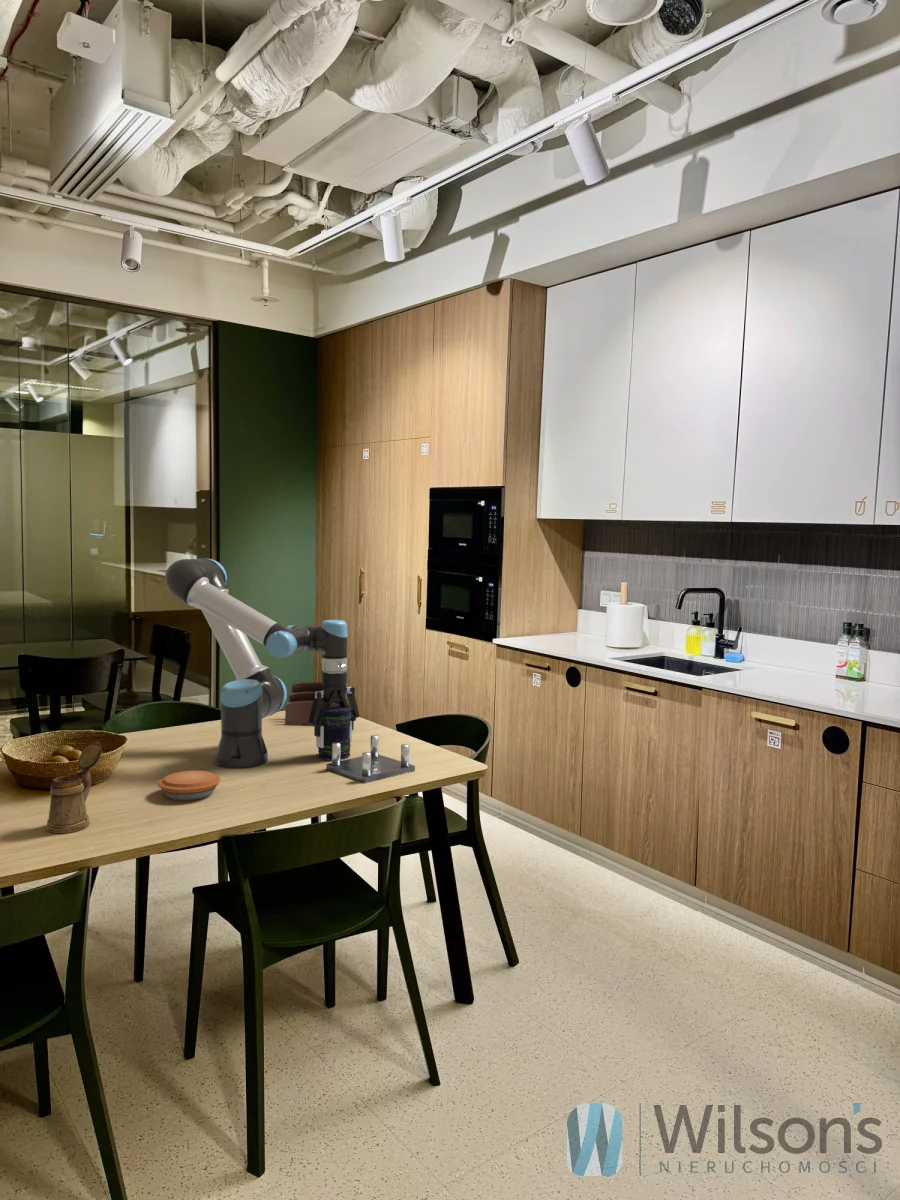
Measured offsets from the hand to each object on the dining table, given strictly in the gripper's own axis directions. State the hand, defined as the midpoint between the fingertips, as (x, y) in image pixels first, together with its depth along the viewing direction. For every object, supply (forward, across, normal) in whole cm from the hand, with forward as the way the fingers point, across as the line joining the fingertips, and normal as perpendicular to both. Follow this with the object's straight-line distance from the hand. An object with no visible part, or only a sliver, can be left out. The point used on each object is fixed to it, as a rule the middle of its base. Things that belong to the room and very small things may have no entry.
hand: (334, 744), depth 258 cm
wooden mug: (+4, -80, -10) cm, 81 cm away
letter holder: (+4, +22, +42) cm, 48 cm away
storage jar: (+4, 0, 0) cm, 4 cm away
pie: (+4, -50, -6) cm, 51 cm away
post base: (+4, -1, -19) cm, 19 cm away
